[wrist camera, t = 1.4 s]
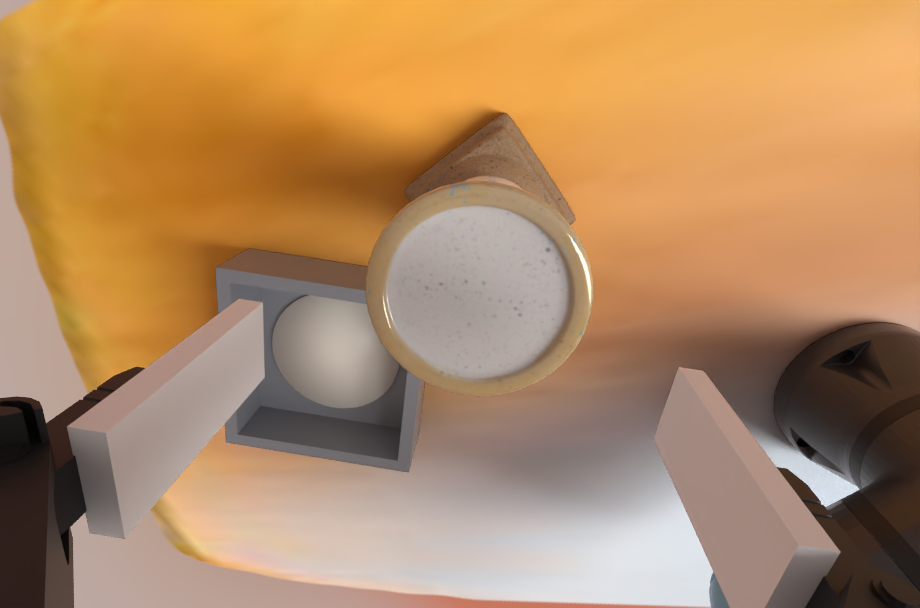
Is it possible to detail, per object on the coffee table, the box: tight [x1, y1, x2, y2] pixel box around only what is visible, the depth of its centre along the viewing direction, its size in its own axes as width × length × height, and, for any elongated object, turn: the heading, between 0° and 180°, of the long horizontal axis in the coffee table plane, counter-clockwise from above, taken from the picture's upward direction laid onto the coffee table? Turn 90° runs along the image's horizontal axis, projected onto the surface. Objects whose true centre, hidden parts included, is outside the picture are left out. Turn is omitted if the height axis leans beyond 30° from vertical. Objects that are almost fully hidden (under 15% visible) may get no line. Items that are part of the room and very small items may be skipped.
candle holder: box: [366, 113, 593, 396], centre depth 33 cm, size 11×11×24 cm
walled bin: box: [215, 248, 425, 472], centre depth 48 cm, size 18×18×6 cm
